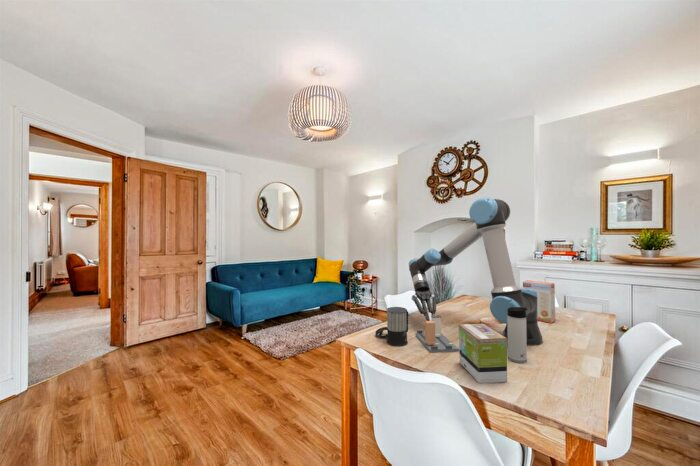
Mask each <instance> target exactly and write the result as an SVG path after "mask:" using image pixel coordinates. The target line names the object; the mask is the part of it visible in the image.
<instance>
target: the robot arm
mask: <svg viewBox="0 0 700 466" xmlns="http://www.w3.org/2000/svg"><path fill="white" fill-rule="evenodd" d="M468 212H469V213H468V214H469V218H470V220H471V221H472V222H473V223H472V224H471V225H470V226H469V227H468V228H466V229H465V230H464V231H463V232H462V233H460V234H459V235H458V236H456V237H455V238H454V239H453V240H452V241H450V242H448V244H447V245H445V246H444V247H443V248H441V250H440V251H438V250H437V249H435V248H430V249H428V250H427V251H426V252H424V254H422V256H420V257H419V258H413V259H410V260H409V262H408V268H409V269H408V270H409V272H410V277H411V280H412V285H413V289H414V292H415V293H414V294H412V296H411V300H412V301H413V302H414V304H415V305H416V308H417V310H418V312H419V313H420V314H421V315H423V316H424V317H425V318H424V319H425V320H426V321H431V315H436V312H437V297H438V295H437V294H433V293H432V292H431V289H430V286H429V282H428V278H427V276H426V272H427V271H428V270H430V269H431V268H432V267H439V266H447V265H449V264H451V263H452V262H453V260H454V258H456V257H458V256H459V255H460V254H462V253H463V252H464V251H465V250H466V249H468V248H469V247H470V246H472V245H474V243H475V242H477V241H478V240H479V239H481V238H482V240H483V246H484V250H485V254H486V257H487V263H488V267H489V273H490V277H491V281H492V285H493V288H492V289H491V291H490V294H491V298H492V299H491V301H490V303H489V309H490V313H491V315H492V316H493V317H494V319H495V320H497V321H498V322H499V323H503V324H505V326H504V330H503V336H504V337H506V338H507V341H508V331H507V317H508V316H507V315H508V308H511V307H522V308H527V311H526V337H527V346H539V345H541V344H543V335H542V333H541V332H542V331H541V330H540V327H539V324H538V320H537V299H538V297H537V292H536V291H535V290H532V289H524V288H523V287H520V286H518V285H517V283H516V280H515V275H514V272H513V271H514V269H513V267H512V263H511V259H510V258H511V257H510V254H509V249H508V246H507V241H506V237H505V233H504V228H505V227H506V225H507V223H506V222H507V221H508V220H509V218H510V215H511V209H510V205H509V204H508V202H506V201H504V200H502V199H499V198H492V197H480V198H478V199H475V201H474V202H472V204H471V205H470V208H469V211H468ZM430 298H431V299H430ZM431 301H432V302H431Z"/></svg>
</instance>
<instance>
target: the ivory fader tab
mask: <svg viewBox="0 0 700 466" xmlns="http://www.w3.org/2000/svg"><path fill="white" fill-rule="evenodd" d="M431 321H434V322H435V337H440V335H441V333H442V316H441V315H440V314H433V315H431Z"/></svg>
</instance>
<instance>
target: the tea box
mask: <svg viewBox="0 0 700 466" xmlns="http://www.w3.org/2000/svg"><path fill="white" fill-rule="evenodd" d="M458 343H459V344H458V345H459V347H458V348H459V352H458V354H459V357H458V358H459V364H460V365H461V366H462V367H463V368H465V370H466V371H467V372H468V373H469V375H471V376H472V377H473V378H474V379H475V380H476V382H477V383H478V384H487V383H488V384H490V383H505V382H506V383H507V382H508V340H507V338H506V337H504V335H503V334H501V333H499V332H498V331H496V330H495V329H494V328H493V329H492V328H491V327H490V326H488V325H486V324H484V323H470V324H469V323H468V324H465V323H464V324H458Z"/></svg>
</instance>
